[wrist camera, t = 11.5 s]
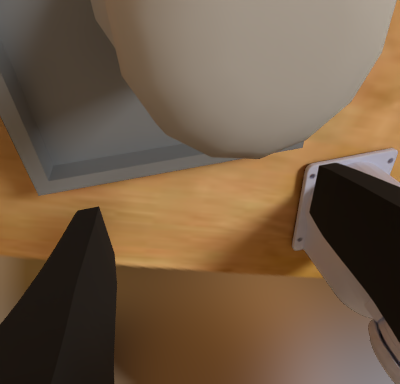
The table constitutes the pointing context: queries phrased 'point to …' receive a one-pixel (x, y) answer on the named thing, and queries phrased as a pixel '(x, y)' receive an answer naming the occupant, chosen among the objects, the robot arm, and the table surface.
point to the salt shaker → (244, 65)
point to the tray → (77, 102)
